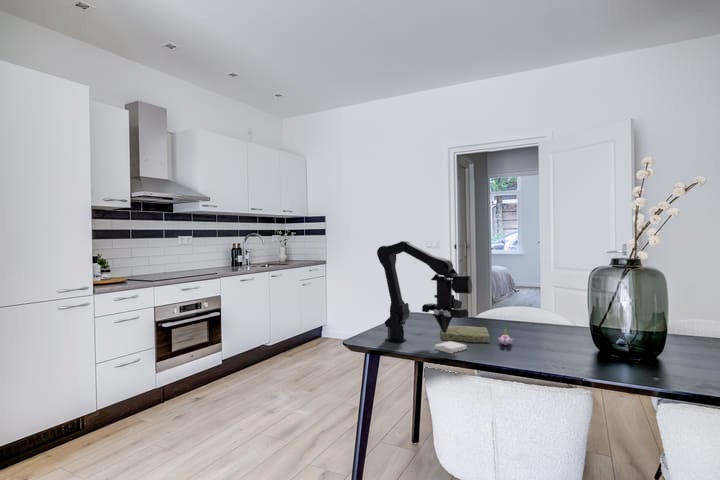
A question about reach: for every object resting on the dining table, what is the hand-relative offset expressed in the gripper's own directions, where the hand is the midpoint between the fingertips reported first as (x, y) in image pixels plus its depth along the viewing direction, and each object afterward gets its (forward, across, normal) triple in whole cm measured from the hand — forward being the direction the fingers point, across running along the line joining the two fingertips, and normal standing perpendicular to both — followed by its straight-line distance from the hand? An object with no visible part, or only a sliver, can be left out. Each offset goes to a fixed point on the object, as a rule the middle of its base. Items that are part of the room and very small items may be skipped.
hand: (444, 332), depth 159 cm
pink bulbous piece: (+6, -12, -22) cm, 26 cm away
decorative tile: (+6, +6, -20) cm, 22 cm away
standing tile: (+5, +1, 0) cm, 5 cm away
